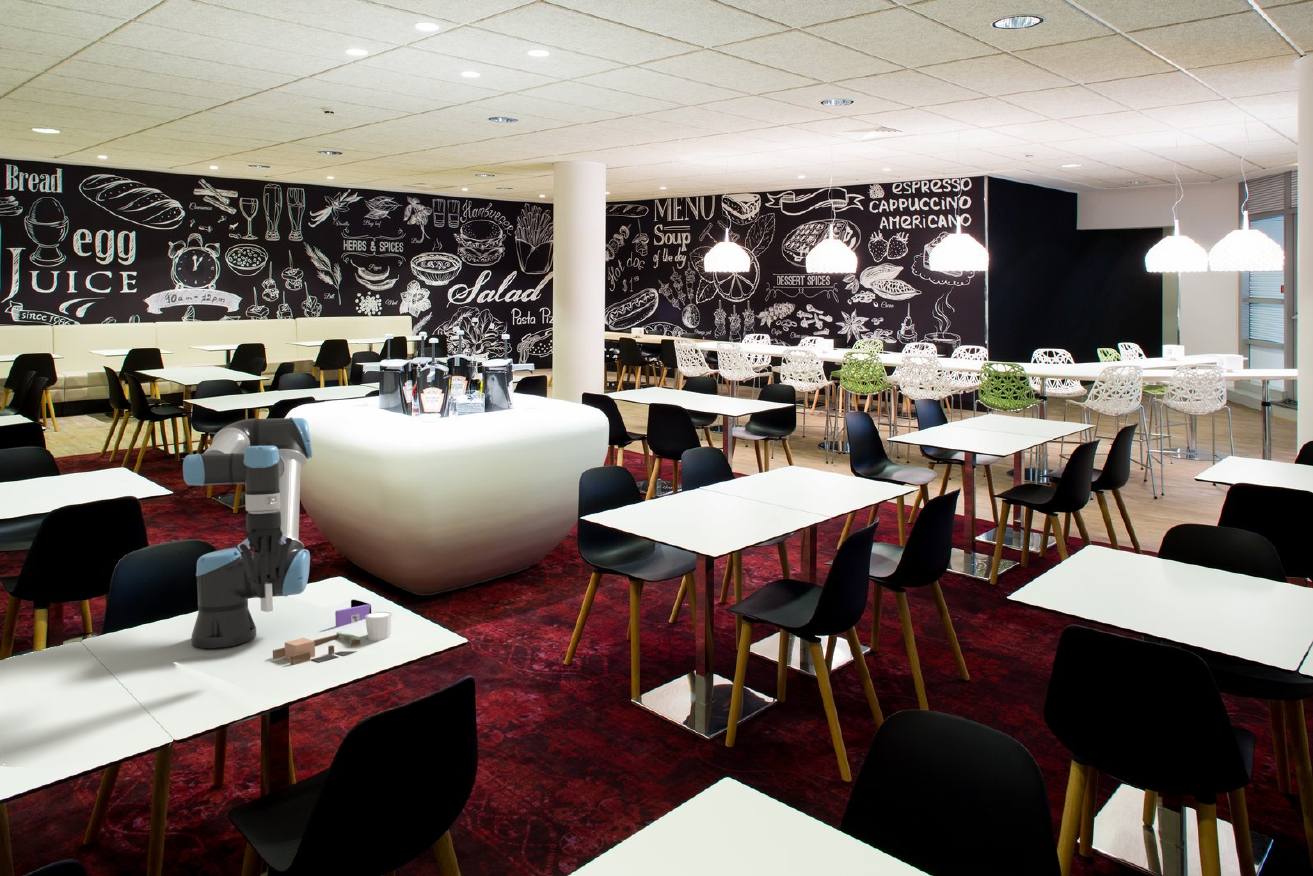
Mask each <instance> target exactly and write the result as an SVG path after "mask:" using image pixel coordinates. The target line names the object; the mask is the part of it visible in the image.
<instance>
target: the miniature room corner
mask: <svg viewBox="0 0 1313 876" xmlns="http://www.w3.org/2000/svg"><path fill="white" fill-rule="evenodd" d="M350 600H351V601H350V607H348V608H343V609H339V610H338V609H337V610H335V612H334V613H335V614H334V615H335V628H340V627H344V626H347V625H350V624H353V623H355V621H353V619H354V618H353V617H356V621H357V622H360V621H363V620H366V619H365V616H366V615H367V614H370V613H372V605H371V604H370V603H368V602H365V601H362V600H358V599H354V598H353V599H350Z"/></svg>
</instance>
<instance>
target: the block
mask: <svg viewBox="0 0 1313 876" xmlns="http://www.w3.org/2000/svg"><path fill="white" fill-rule="evenodd" d="M313 640H314V639H313ZM313 640H312V639H309V638H306V637H302V638H297V639H293V640H288V641H285V642H284V647H285V657H284V659H287V660H290V661H291V656H292V655H296V654H300V653H304V652H310V659H313V658H314V657H315V658H316V646H315V641H313Z"/></svg>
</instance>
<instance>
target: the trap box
mask: <svg viewBox="0 0 1313 876" xmlns="http://www.w3.org/2000/svg"><path fill="white" fill-rule="evenodd" d="M338 639H341V640H344V641H346V642H348V643H350V644H351V646H352V647H357V646H359V645H361V640H362V639H361V637H360V636H359V635H358V636H357V635H354V634H350V633H346V632H343V631H338V632H336V634H333V635H330V636H326V637H321V638H318V639H313V641H315V647H317V646H321V645H324V644H326V643H329V642H332V641H334V640H338ZM327 648H328V649H327V653H328V654H326V655H323V656H318V657H315V658H314V657H313V658H310V652H304V653H300V654H296V655H292V656H291V660H290V665H292V666H294V665H298V664H301V663H305V662H310V661H313V662H316V663H323V662H326V661H327V662H328V661H330V660H334V659H337V658H339V656H342V657H345V656H348V655H353V654H354V653H355V654H356V653H357V652H358V651H357V650H353V651H352V650H351V651H338V652H335V645H331V644H330V645H328V646H327ZM281 658H285V646H284V647H281V648H277V649H273V650H272V659H273V660H277V659H281Z"/></svg>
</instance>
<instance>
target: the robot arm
mask: <svg viewBox="0 0 1313 876" xmlns="http://www.w3.org/2000/svg"><path fill="white" fill-rule="evenodd" d="M312 457H313V450H312V444H311V436H310V429H309V423H308V421H307V419H304V418H300V417H288V418H286V417H285V418H284V417H283V418H282V417H281V418H247V419H242V420H238V421H236V422H233V423H230V424H228V425H226V426H224V427H222V428H221V429H220V430H219V431H218V432H216V433H215V435H214V436H213V438H212V442H211V444H210V445H209V447H208V448H207V449H206V450H205V451H204V452H203V453H195V454H188V455H187V454H186V456H185V457H184V459H183V463H182V474H183V475H182V476H183V481H184V482H185V484H186V485H188V486H199V487H204V486H213V485H241V484H243V485H244V486H245V492H244V493H245V511H246V512H247V513H246V514H245V524H246V526H245V527H246V531H247V532H246V535H245V539H244V540H243V541H242V542H241V543H236V545H235V547H230V548H225V549H224V548H223V549H219V550H215V551H212V552H208V553H205V554H203V555H201V556H200V557H199V558H198V559H197V561H196V573H195V576H196V588H197V589H196V590H197V609H198V610H197V617H196V620H195V623H194V626H193V630H192V633H191V645H192V646H193V647H196V648H203V649H205V648H206V649H209V648H210V649H211V648H212V649H213V648H215V649H216V648H226V647H232V646H238V645H241V644H245V643H248V642H251V641H252V640H254V639H256V637H257V626H256V624H255V622H254V620H253V617H252V614H251V612H250V609H249V599H255V598H257V599H258V598H259V599H260V611H262V612H265V613H268V612H273V611H274V607H273V606H274V605H273V597H275V598H276V597H288V596H296V595H300V594H302V593H303V592H304V591H305V590H306V587H307V585H308V580H309V575H310V566H311V564H310V563H311V554H310V551H309V550H308V549H305V545H304V543H303V542H302V541H301V540H300V539H299V537H300V536H299V533H300V531H299V530H300V528H299V527H300V500H301V497H300V495H301V494H300V493H301V469H302V468H304V467H305V466H306V465H307V459H311V458H312ZM251 548H252V549H253V550H252V551H253V552H251V551H250V549H251Z"/></svg>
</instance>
